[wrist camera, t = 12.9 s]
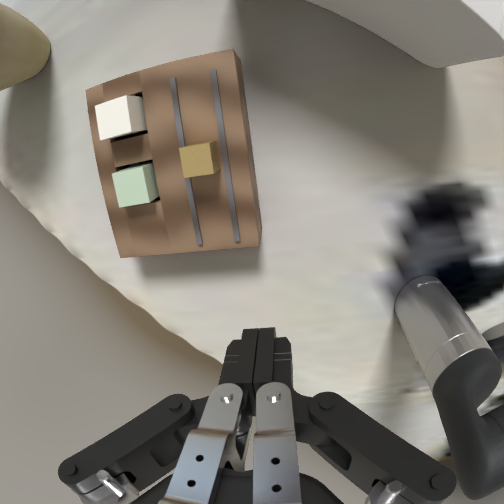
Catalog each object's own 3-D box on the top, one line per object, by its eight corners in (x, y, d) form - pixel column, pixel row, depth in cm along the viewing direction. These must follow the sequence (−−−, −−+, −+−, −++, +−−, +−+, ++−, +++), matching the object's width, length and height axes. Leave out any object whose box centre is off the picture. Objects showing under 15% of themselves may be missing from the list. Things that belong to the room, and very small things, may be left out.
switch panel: (261, 228, 40) (258, 247, 34) (138, 240, 42) (119, 259, 37) (240, 60, 31) (232, 48, 25) (109, 91, 33) (83, 89, 28)
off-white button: (150, 129, 32) (131, 131, 27) (121, 136, 32) (100, 140, 28) (145, 97, 30) (126, 95, 26) (116, 105, 31) (94, 105, 26)
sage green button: (165, 191, 36) (149, 202, 32) (137, 196, 37) (119, 207, 32) (159, 160, 34) (142, 167, 30) (131, 166, 35) (111, 173, 30)
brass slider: (220, 168, 31) (213, 173, 28) (193, 171, 32) (183, 178, 28) (216, 140, 30) (209, 142, 27) (189, 144, 30) (178, 148, 27)
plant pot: (83, 41, 30) (7, 25, 16) (30, 115, 35) (-44, 128, 20) (46, 0, 26) (-20, -16, 12) (-1, 68, 31) (-66, 72, 16)
